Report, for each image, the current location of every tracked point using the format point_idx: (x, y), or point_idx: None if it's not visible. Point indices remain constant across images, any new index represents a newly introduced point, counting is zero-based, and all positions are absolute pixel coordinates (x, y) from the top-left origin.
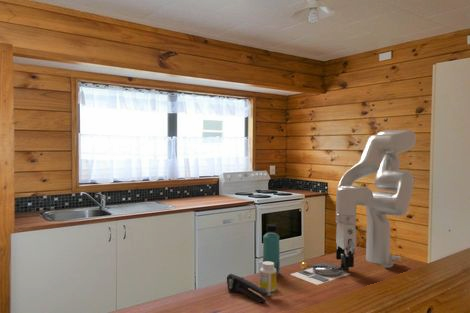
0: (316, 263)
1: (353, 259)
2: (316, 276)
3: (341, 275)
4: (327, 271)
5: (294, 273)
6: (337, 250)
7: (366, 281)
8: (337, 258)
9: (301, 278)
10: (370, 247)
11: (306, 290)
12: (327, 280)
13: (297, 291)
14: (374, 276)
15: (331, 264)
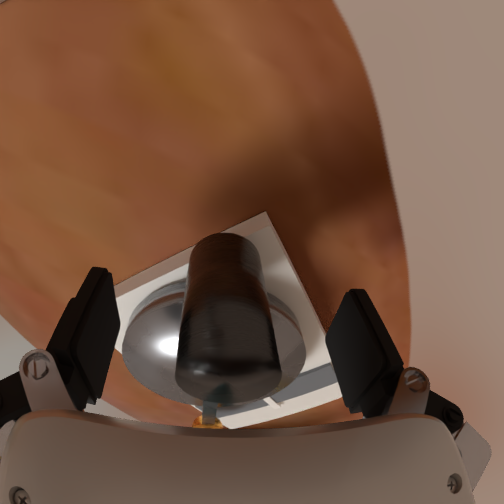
0: (145, 385)
1: (389, 341)
2: (281, 391)
3: (288, 297)
4: (289, 381)
5: (224, 422)
6: (100, 395)
7: (357, 138)
8: (118, 327)
9: (280, 416)
10: None
11: (341, 398)
12: (332, 367)
13: (337, 410)
14: (269, 6)
15: (154, 334)
